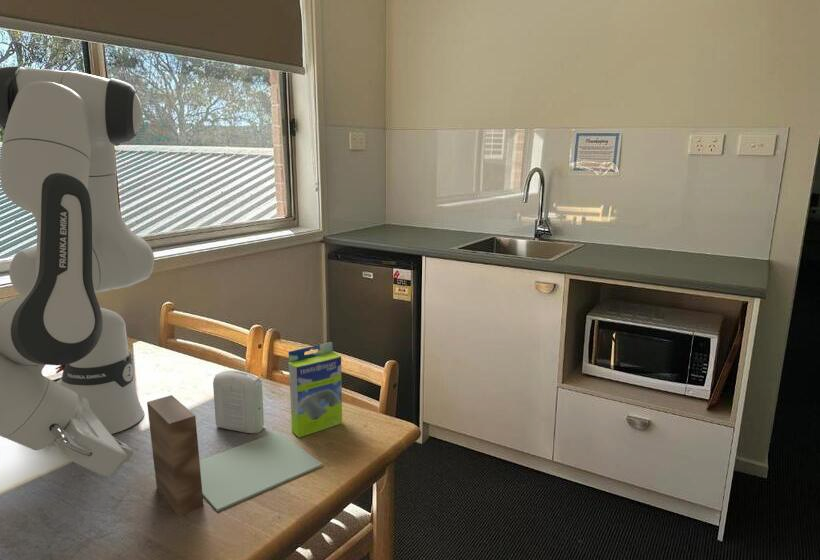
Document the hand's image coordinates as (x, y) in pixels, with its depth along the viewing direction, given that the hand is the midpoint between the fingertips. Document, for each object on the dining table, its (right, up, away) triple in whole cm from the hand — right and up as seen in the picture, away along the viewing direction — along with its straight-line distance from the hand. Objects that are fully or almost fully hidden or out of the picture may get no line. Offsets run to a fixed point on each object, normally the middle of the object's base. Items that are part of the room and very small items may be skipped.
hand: (127, 454), depth 87 cm
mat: (+15, -7, +16) cm, 23 cm away
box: (+24, -4, +31) cm, 39 cm away
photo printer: (+8, -4, +31) cm, 32 cm away
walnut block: (+5, -9, +7) cm, 13 cm away
